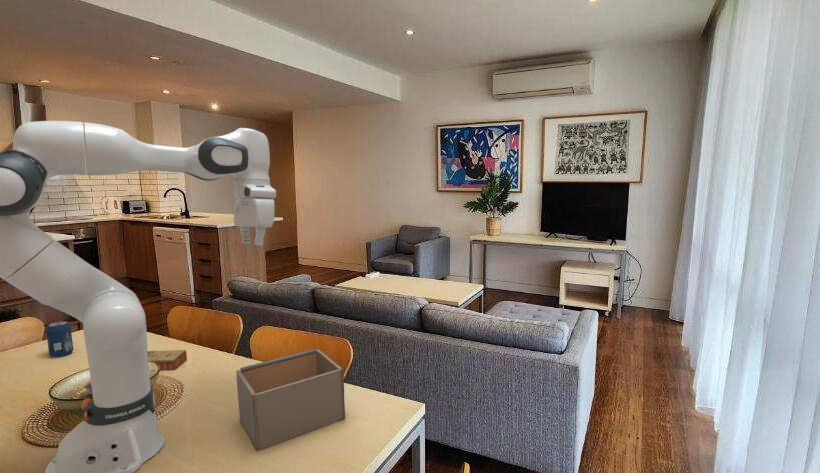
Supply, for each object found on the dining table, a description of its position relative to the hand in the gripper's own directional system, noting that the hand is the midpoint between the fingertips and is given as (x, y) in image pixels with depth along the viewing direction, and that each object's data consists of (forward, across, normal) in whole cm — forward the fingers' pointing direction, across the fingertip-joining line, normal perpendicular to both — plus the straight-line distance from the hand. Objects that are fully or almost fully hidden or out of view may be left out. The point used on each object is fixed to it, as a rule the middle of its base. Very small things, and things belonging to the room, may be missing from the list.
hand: (252, 244), depth 112 cm
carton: (+45, -54, -14) cm, 72 cm away
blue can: (+44, -88, -39) cm, 106 cm away
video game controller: (+47, -41, -30) cm, 69 cm away
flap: (+45, 0, +8) cm, 46 cm away
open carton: (+47, +7, +8) cm, 48 cm away
